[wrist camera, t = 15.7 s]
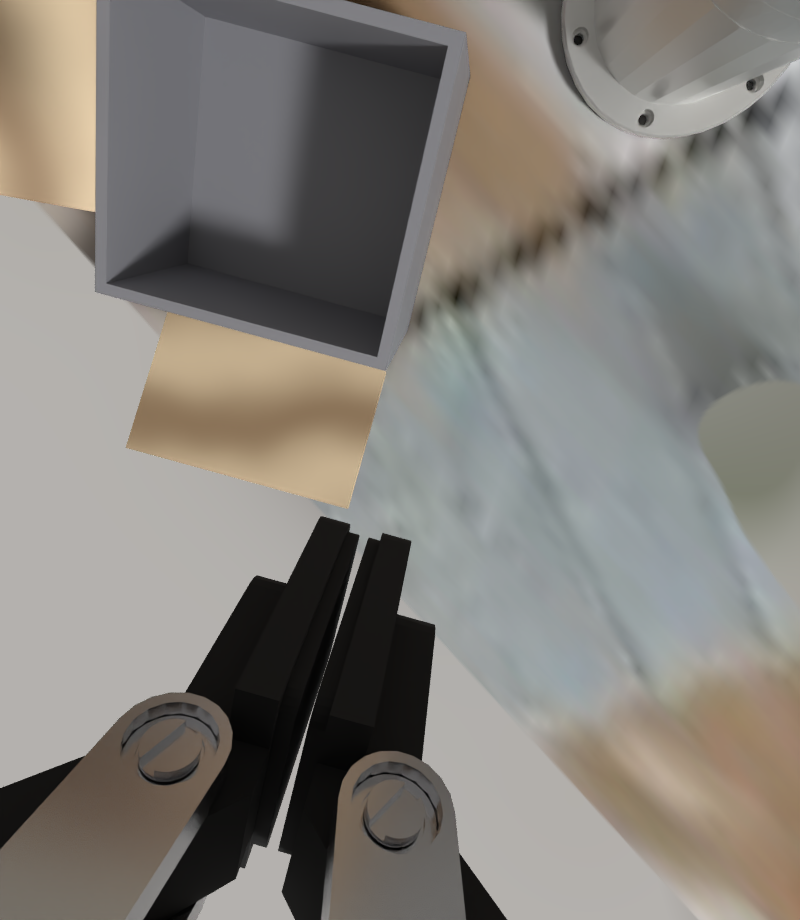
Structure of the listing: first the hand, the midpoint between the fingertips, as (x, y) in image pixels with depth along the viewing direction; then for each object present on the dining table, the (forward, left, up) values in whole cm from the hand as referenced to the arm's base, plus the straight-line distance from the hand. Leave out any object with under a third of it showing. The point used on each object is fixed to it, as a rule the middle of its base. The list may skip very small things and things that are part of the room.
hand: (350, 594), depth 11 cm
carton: (-5, -10, -31) cm, 33 cm away
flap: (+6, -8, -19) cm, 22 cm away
